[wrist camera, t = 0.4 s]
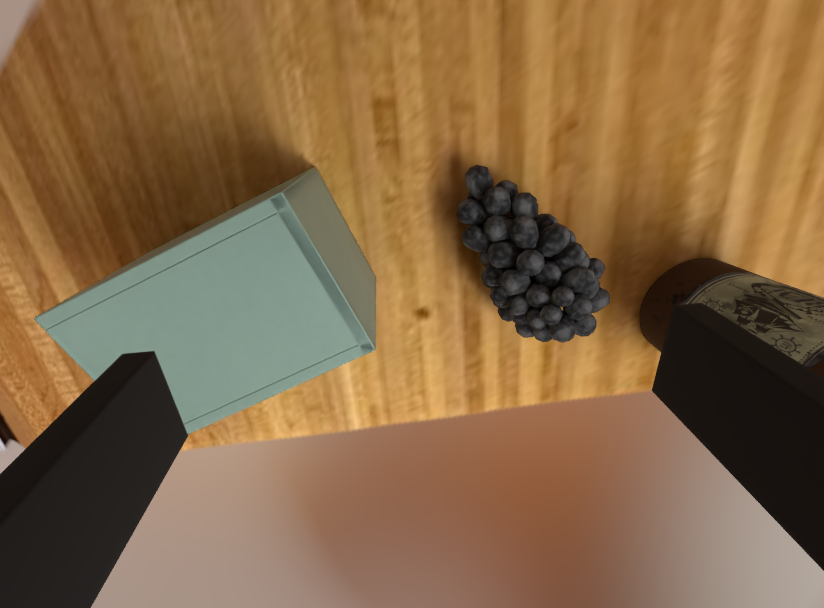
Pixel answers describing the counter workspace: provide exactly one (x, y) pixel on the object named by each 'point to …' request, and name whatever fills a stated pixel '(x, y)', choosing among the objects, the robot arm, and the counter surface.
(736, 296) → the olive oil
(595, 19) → the counter surface
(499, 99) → the counter surface
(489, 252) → the fruit
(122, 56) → the counter surface
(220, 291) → the open box
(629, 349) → the counter surface
